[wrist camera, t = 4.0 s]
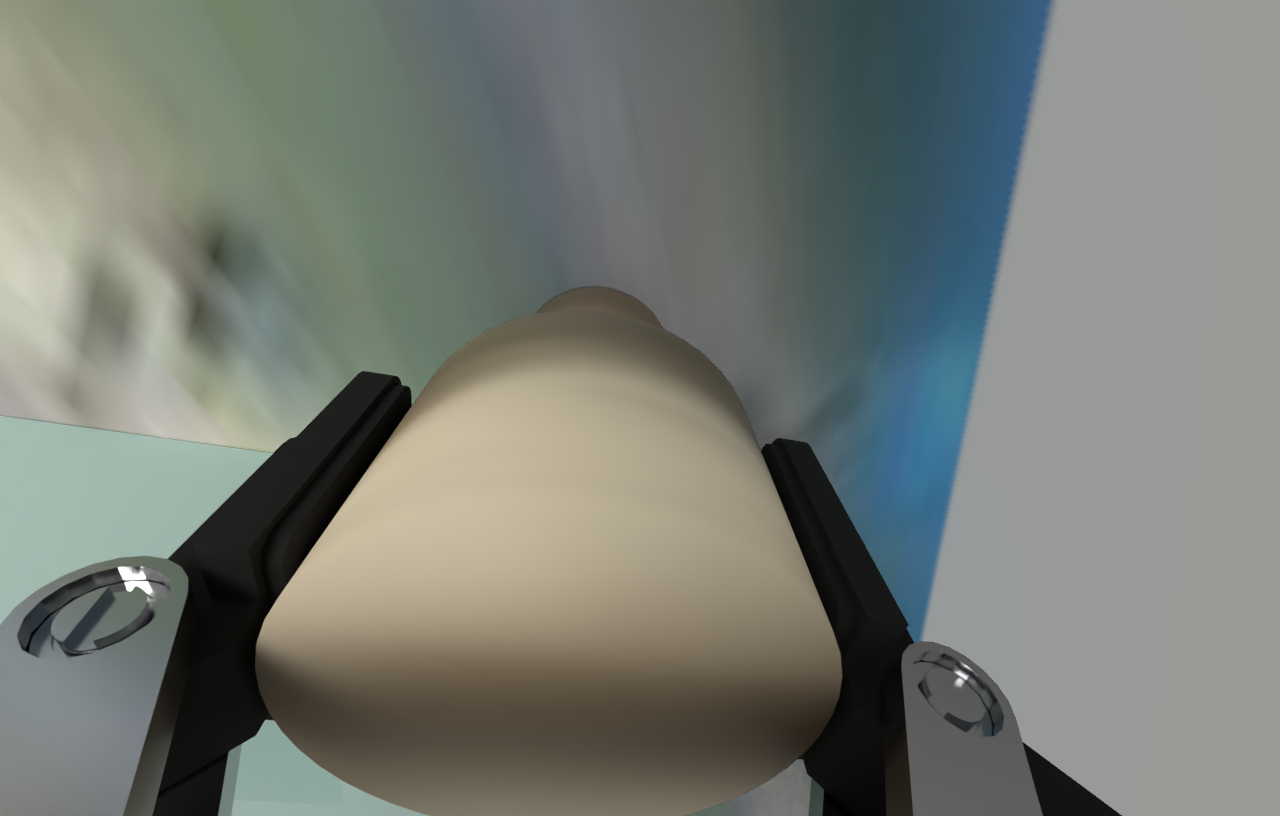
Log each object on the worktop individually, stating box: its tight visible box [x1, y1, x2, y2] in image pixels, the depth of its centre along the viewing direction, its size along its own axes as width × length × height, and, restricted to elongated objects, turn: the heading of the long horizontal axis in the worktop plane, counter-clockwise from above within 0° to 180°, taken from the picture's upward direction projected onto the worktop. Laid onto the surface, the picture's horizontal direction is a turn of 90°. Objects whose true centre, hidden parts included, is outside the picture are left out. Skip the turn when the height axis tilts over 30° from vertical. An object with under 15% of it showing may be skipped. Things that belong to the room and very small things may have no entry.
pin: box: [255, 287, 842, 816], centre depth 10 cm, size 6×6×10 cm
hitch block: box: [0, 416, 430, 816], centre depth 16 cm, size 12×20×6 cm, turn 78°
